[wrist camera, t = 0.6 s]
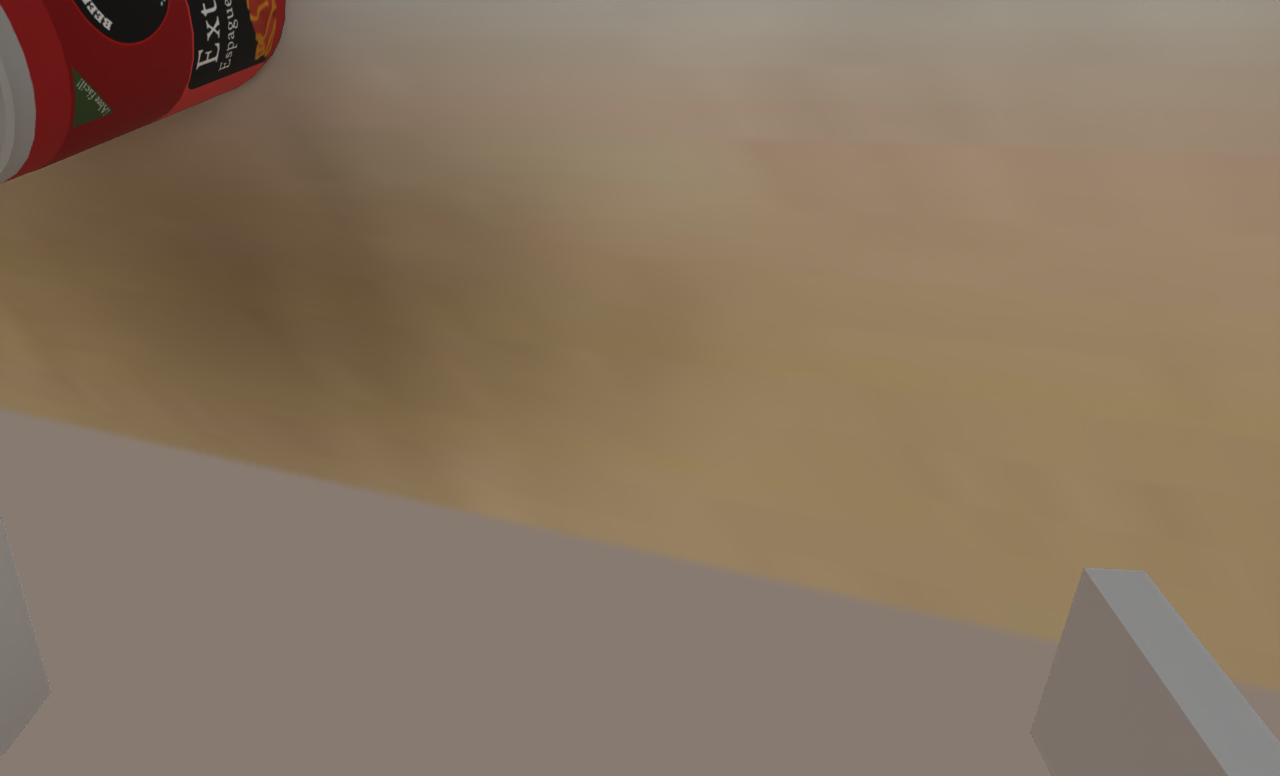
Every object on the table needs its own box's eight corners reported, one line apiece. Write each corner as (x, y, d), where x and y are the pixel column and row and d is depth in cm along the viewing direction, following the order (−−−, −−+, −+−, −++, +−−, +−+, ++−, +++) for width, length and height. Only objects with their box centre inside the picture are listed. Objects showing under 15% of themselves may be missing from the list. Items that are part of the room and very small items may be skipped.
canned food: (330, 61, 32) (67, 171, 24) (166, 105, 36) (-116, 216, 27) (224, -194, 29) (-128, -174, 20) (54, -118, 32) (-309, -73, 24)
